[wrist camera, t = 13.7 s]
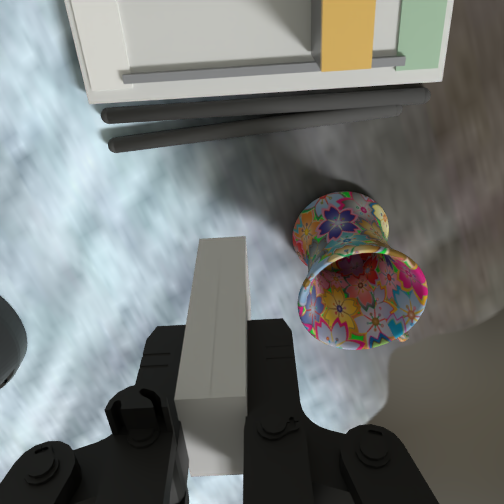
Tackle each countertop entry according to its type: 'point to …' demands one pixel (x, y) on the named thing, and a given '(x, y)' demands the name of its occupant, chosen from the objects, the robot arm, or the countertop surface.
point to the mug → (355, 274)
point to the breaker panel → (241, 47)
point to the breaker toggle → (342, 34)
